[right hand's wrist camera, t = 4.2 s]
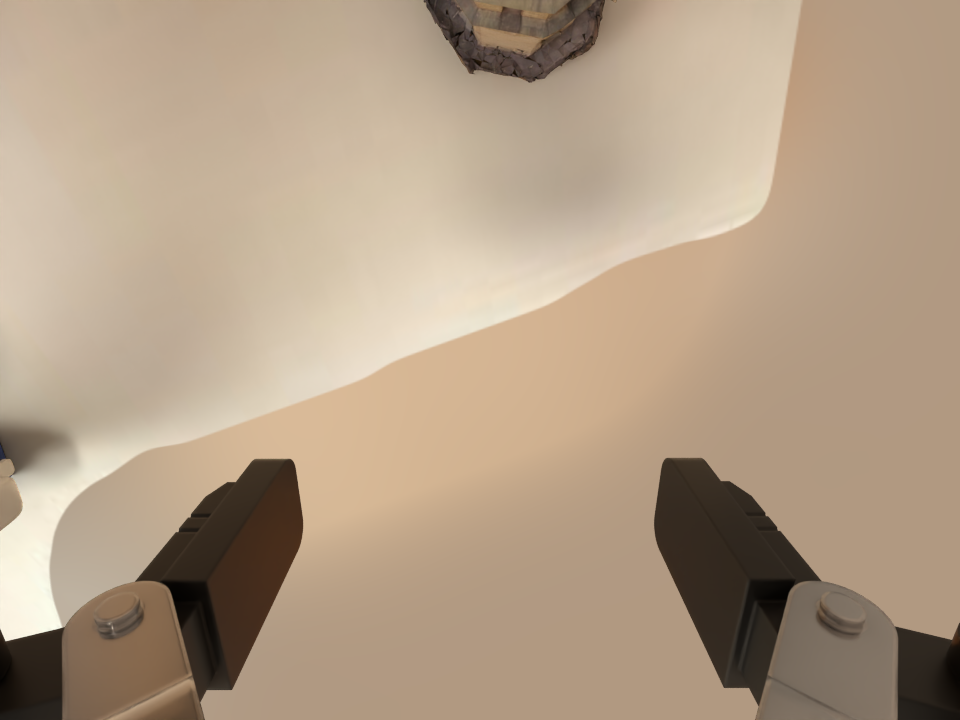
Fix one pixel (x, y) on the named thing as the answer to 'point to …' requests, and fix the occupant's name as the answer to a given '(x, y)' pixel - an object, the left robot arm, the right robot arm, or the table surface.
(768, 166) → the table surface
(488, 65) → the miniature building
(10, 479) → the left robot arm
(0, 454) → the block
